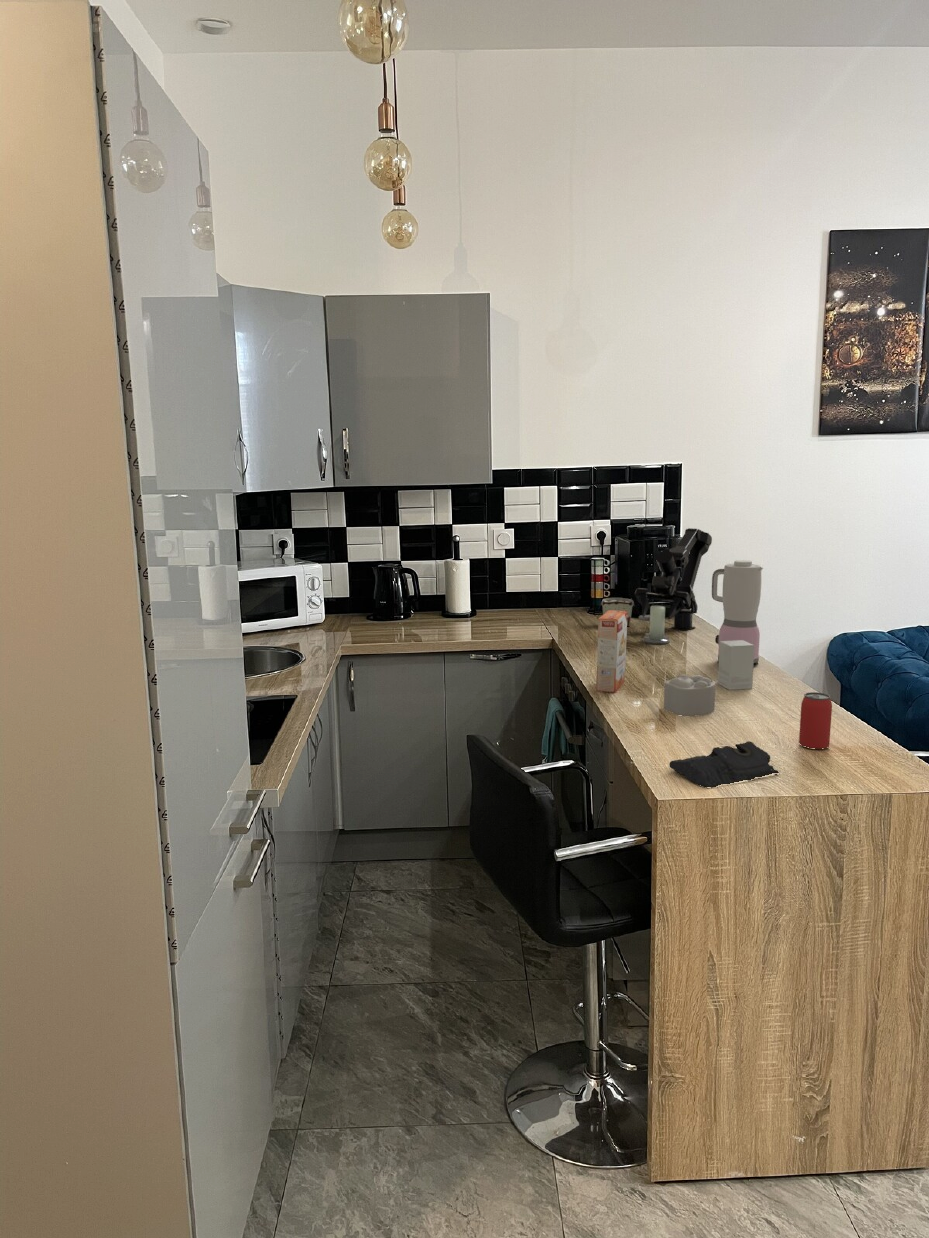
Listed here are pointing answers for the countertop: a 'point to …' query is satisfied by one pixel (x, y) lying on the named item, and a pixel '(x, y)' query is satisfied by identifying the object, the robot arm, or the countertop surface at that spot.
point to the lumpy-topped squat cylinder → (690, 695)
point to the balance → (651, 641)
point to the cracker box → (611, 651)
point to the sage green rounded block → (657, 622)
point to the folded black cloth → (725, 765)
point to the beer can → (815, 720)
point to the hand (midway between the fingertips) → (655, 617)
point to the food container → (618, 606)
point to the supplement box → (736, 664)
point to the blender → (739, 603)
